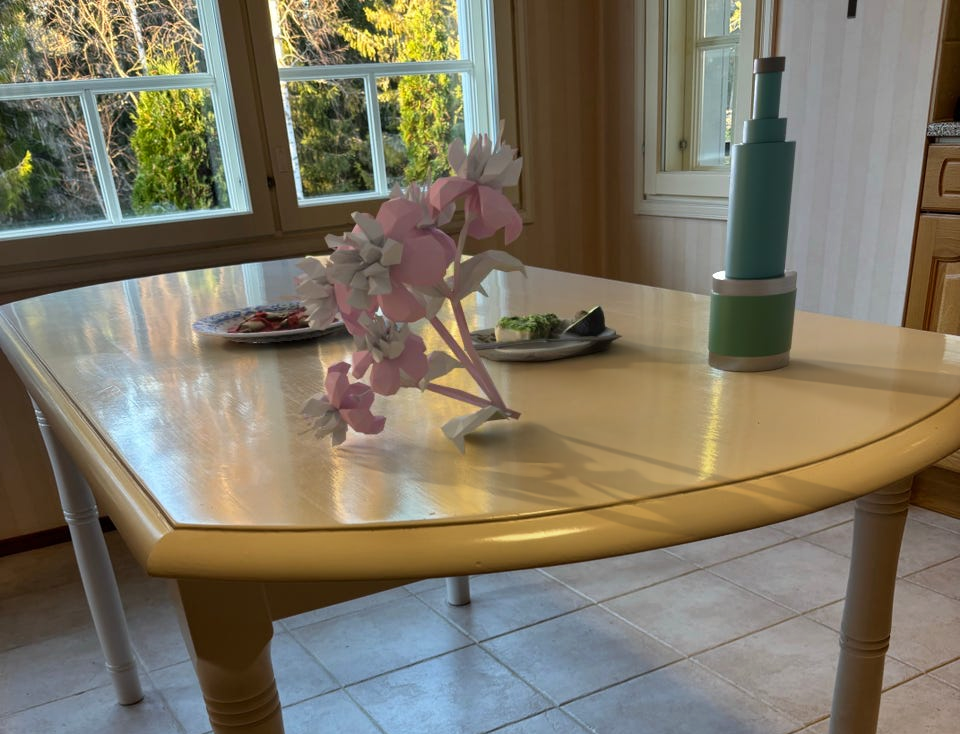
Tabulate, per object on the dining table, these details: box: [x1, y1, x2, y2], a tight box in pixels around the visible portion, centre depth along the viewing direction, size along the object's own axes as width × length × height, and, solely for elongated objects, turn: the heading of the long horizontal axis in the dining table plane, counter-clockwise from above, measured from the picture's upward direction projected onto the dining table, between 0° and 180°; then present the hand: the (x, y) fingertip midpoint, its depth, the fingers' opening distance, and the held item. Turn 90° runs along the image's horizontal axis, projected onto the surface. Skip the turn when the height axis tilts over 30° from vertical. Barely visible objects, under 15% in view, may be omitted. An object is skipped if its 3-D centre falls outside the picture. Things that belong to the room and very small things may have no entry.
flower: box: [277, 118, 528, 455], centre depth 79 cm, size 20×22×25 cm
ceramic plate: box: [190, 300, 346, 344], centre depth 134 cm, size 26×26×3 cm
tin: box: [707, 268, 798, 373], centre depth 98 cm, size 9×9×9 cm
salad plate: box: [461, 305, 623, 362], centre depth 111 cm, size 19×18×5 cm
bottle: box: [723, 55, 797, 278], centre depth 91 cm, size 6×6×19 cm
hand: (927, 9), depth 89 cm, fingers open, 13 cm apart
